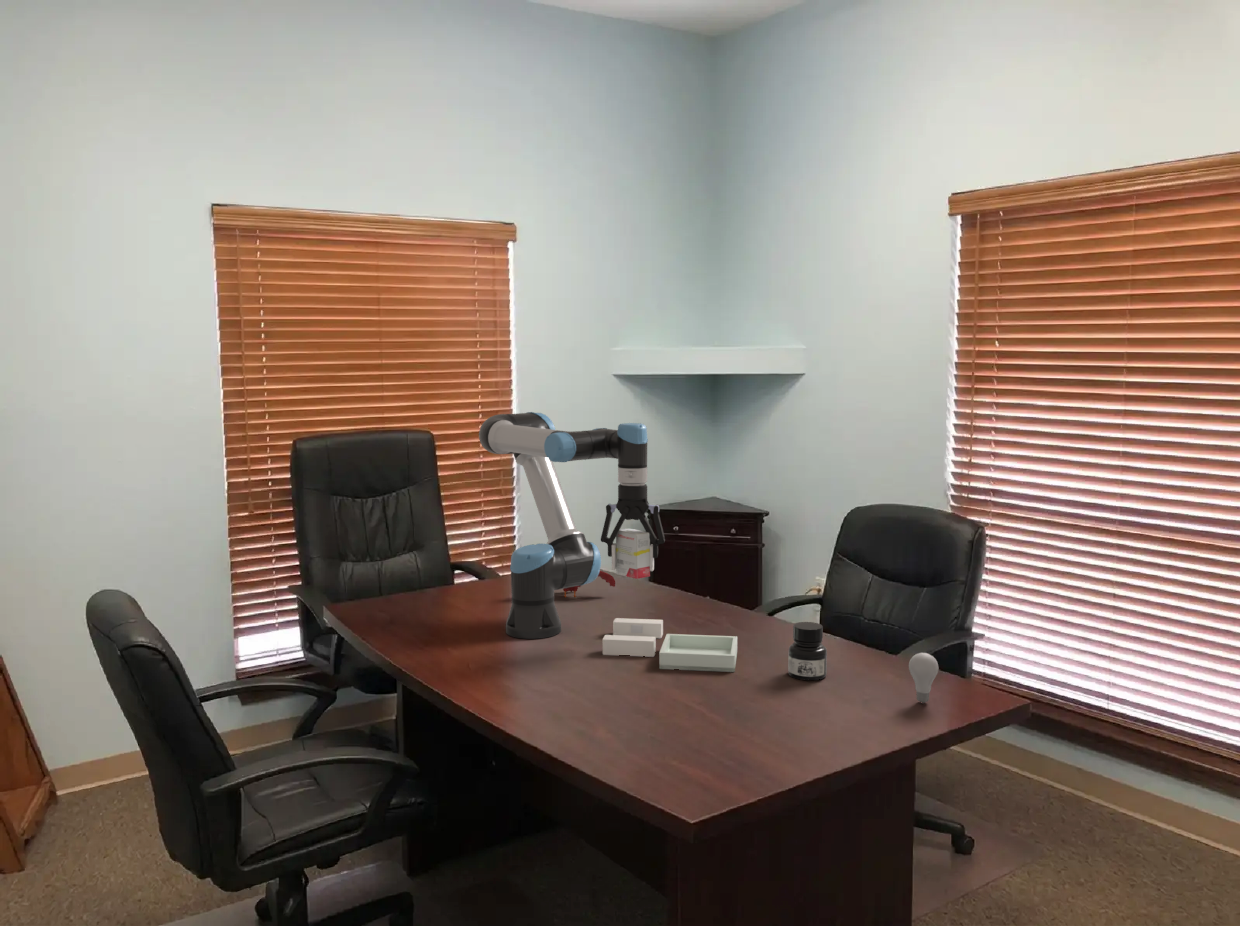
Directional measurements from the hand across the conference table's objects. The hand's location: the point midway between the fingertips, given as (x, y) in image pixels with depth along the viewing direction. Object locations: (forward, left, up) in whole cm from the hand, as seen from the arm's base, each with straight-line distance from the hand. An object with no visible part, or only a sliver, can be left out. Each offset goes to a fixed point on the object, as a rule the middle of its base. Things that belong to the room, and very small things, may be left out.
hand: (632, 569), depth 251 cm
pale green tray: (+18, -11, -20) cm, 29 cm away
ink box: (0, 0, -2) cm, 2 cm away
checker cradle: (0, 0, -20) cm, 20 cm away
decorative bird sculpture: (-27, +47, -20) cm, 58 cm away
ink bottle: (+44, -19, -20) cm, 52 cm away
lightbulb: (+68, -34, -20) cm, 79 cm away
